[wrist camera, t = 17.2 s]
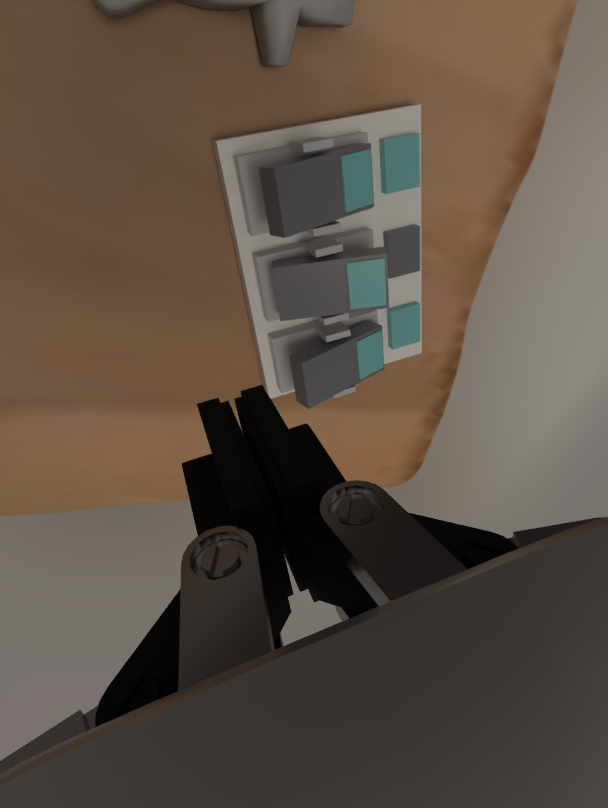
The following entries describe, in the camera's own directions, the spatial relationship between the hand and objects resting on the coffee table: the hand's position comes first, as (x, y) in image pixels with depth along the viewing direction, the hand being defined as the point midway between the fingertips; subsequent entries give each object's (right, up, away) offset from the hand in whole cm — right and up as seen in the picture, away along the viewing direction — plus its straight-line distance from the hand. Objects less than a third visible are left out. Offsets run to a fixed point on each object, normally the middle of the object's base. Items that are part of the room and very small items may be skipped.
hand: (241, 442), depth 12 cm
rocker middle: (+4, +10, +23) cm, 25 cm away
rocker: (+4, +4, +27) cm, 27 cm away
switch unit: (+4, +13, +28) cm, 30 cm away
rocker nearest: (+3, +15, +19) cm, 25 cm away
